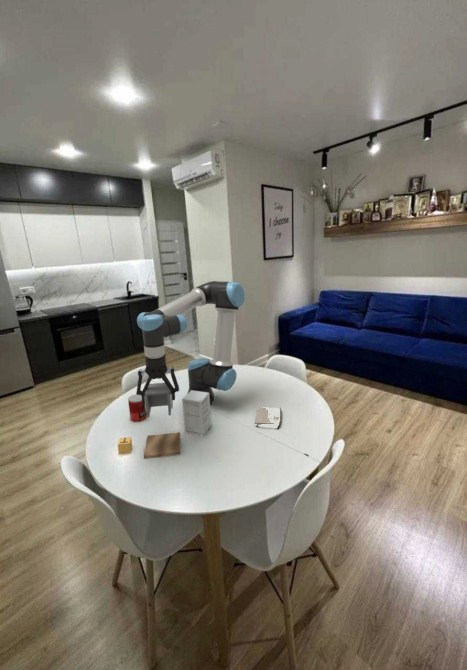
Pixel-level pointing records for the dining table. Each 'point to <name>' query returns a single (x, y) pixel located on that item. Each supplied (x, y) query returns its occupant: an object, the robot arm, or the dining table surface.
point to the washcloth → (263, 417)
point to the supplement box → (196, 412)
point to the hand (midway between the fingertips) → (159, 408)
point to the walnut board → (162, 445)
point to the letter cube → (125, 445)
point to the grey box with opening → (157, 397)
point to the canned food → (137, 408)
